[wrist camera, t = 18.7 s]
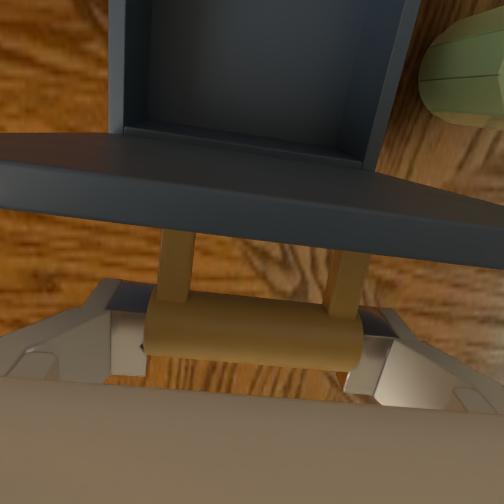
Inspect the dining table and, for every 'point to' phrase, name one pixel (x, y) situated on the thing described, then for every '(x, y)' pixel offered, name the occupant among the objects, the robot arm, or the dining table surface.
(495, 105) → the pot
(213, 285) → the dining table surface
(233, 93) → the box
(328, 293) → the lid
